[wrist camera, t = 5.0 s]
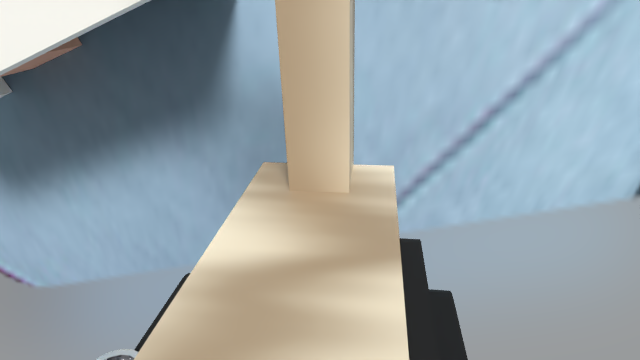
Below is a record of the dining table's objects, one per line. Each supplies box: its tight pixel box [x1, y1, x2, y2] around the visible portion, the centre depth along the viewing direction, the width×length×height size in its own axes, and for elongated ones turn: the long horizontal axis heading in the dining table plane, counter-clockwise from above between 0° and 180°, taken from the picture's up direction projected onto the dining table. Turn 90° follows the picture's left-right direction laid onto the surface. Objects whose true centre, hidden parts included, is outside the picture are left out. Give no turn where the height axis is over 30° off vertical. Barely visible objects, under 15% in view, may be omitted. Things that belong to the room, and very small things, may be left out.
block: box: [0, 37, 82, 77], centre depth 24 cm, size 4×4×4 cm
